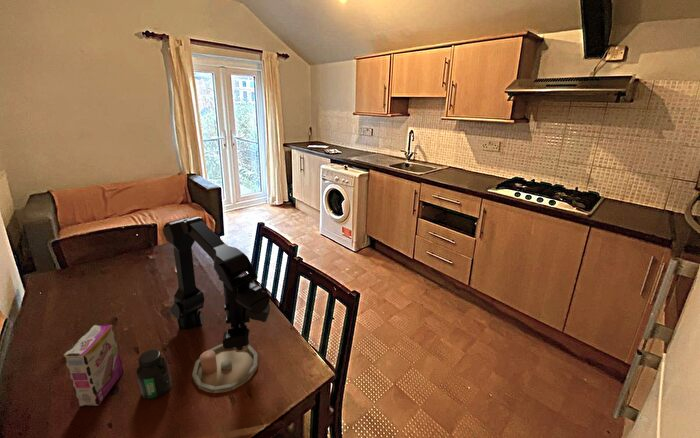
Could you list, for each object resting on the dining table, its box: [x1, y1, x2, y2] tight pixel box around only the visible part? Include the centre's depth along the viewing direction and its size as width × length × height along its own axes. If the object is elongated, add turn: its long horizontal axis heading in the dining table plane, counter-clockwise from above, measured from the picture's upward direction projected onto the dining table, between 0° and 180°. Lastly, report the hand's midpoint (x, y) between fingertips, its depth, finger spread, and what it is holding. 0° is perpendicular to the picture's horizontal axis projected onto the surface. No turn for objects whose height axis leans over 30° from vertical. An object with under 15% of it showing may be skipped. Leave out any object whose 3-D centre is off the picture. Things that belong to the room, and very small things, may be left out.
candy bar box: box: [63, 324, 124, 407], centre depth 83 cm, size 11×5×16 cm, turn 5°
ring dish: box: [191, 343, 259, 394], centre depth 93 cm, size 17×17×2 cm
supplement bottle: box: [136, 348, 172, 401], centre depth 84 cm, size 7×7×12 cm
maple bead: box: [234, 343, 250, 352], centre depth 91 cm, size 4×4×5 cm
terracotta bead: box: [199, 349, 217, 375], centre depth 91 cm, size 4×4×5 cm
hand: (240, 344), depth 92 cm, fingers closed on maple bead, 4 cm apart
